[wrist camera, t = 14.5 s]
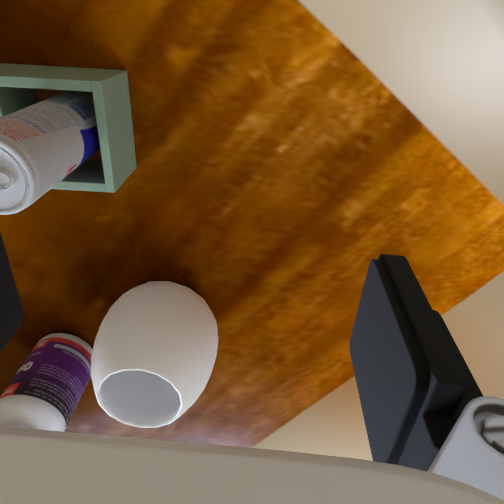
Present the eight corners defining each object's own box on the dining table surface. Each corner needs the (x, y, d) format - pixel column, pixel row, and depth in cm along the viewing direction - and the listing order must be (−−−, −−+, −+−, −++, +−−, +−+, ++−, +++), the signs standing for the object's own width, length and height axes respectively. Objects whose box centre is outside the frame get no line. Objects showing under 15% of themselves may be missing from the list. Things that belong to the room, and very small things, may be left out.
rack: (-33, 157, 42) (-83, 181, 36) (-64, 59, 37) (-126, 68, 31) (137, 167, 42) (115, 193, 36) (127, 70, 37) (100, 81, 31)
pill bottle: (46, 320, 53) (-23, 415, 40) (106, 343, 54) (58, 442, 42) (32, 359, 56) (-35, 458, 44) (89, 380, 58) (39, 481, 46)
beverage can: (39, 106, 38) (-80, 156, 25) (87, 78, 37) (-13, 115, 24) (77, 160, 41) (-13, 230, 28) (123, 135, 39) (51, 197, 26)
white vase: (216, 357, 55) (201, 450, 43) (116, 343, 54) (75, 433, 43) (228, 275, 48) (215, 360, 36) (115, 258, 47) (65, 339, 36)
